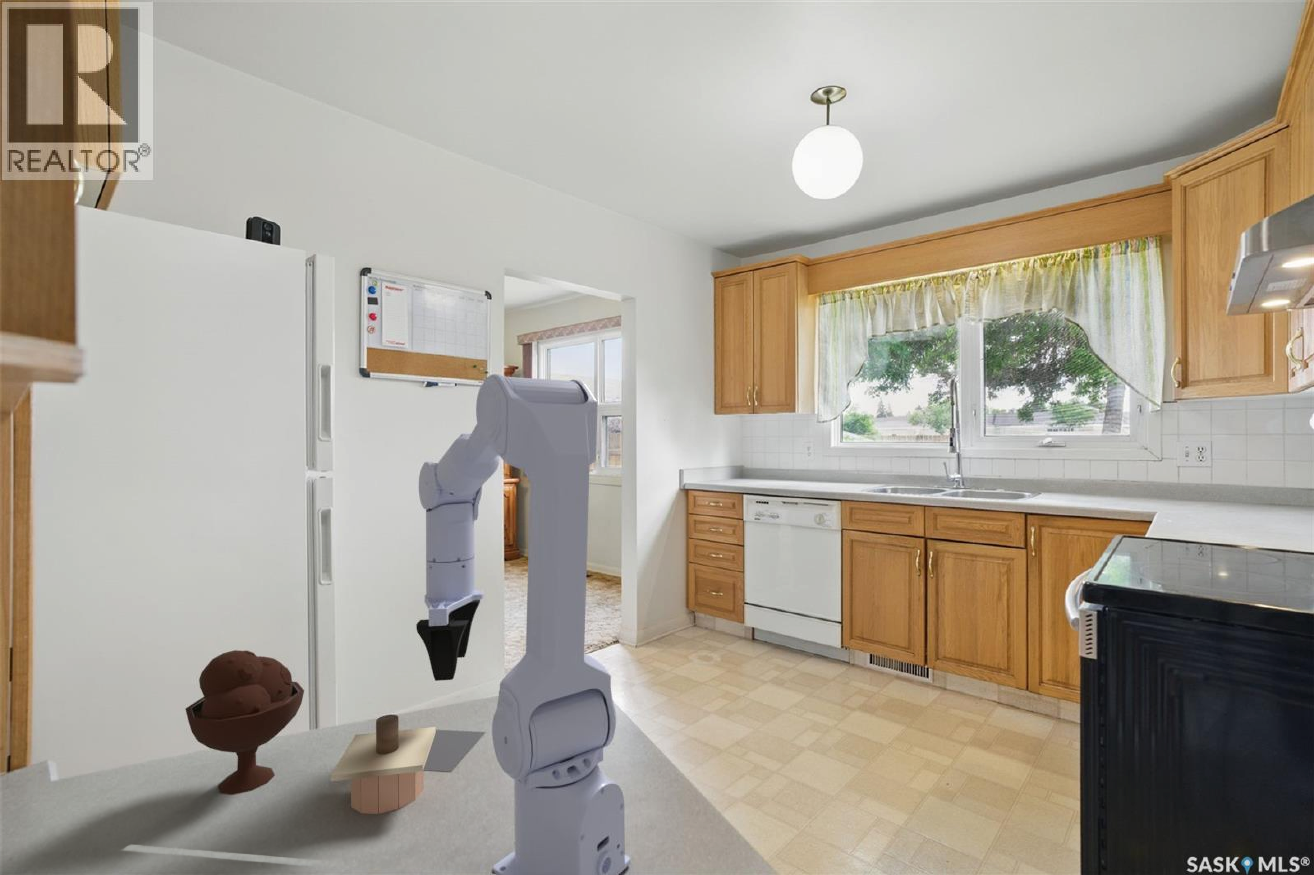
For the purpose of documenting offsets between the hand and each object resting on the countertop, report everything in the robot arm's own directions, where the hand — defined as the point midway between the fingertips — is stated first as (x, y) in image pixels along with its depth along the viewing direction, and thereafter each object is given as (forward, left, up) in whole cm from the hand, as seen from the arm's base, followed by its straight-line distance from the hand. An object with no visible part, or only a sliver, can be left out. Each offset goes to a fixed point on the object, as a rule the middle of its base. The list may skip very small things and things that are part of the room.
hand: (450, 667), depth 75 cm
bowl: (-4, +11, -10) cm, 15 cm away
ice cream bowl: (+12, +18, -10) cm, 24 cm away
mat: (+1, +2, -10) cm, 10 cm away
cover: (-4, +11, -5) cm, 12 cm away
